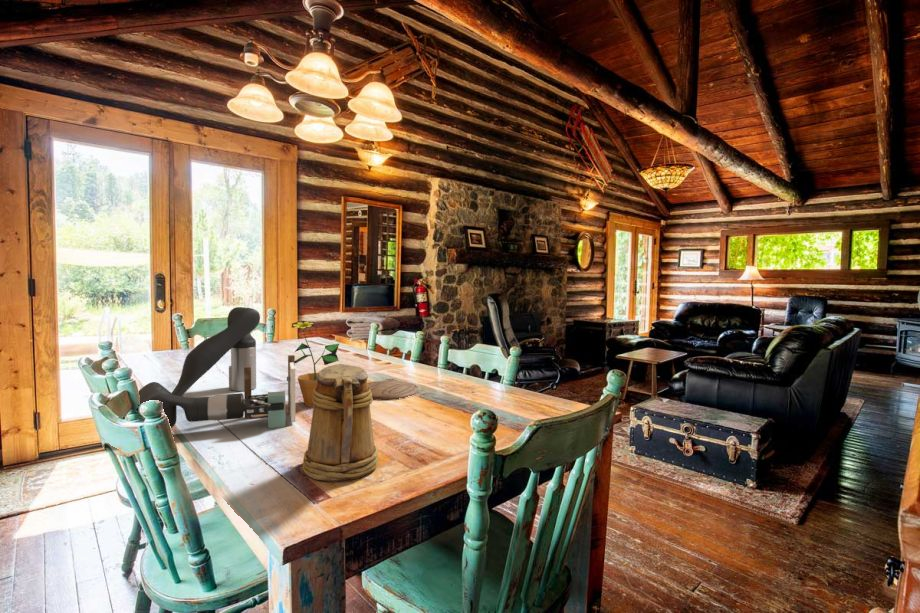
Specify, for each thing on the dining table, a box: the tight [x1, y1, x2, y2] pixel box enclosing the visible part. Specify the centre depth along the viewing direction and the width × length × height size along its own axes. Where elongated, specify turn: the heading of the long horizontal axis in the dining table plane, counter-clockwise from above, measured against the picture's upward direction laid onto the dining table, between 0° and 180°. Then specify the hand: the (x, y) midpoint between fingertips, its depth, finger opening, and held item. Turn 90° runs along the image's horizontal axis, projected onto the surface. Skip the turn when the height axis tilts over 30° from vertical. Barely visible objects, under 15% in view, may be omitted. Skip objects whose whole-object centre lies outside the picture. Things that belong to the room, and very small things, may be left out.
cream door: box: [286, 362, 296, 423], centre depth 147 cm, size 10×2×17 cm, turn 23°
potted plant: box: [291, 320, 340, 407], centre depth 166 cm, size 18×19×30 cm
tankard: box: [302, 363, 380, 483], centre depth 111 cm, size 18×24×25 cm
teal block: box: [267, 390, 286, 429], centre depth 143 cm, size 5×5×10 cm
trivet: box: [367, 380, 419, 401], centre depth 186 cm, size 25×25×2 cm
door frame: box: [243, 354, 296, 420], centre depth 151 cm, size 15×3×20 cm, turn 113°
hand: (283, 402), depth 144 cm, fingers open, 8 cm apart
